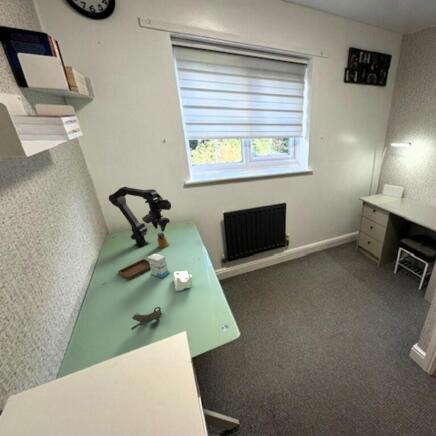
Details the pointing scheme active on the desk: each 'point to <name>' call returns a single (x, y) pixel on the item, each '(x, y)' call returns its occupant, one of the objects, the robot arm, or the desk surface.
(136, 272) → the tray
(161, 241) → the bottle
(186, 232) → the desk surface
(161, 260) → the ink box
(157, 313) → the dog figurine
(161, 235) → the cap
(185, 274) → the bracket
